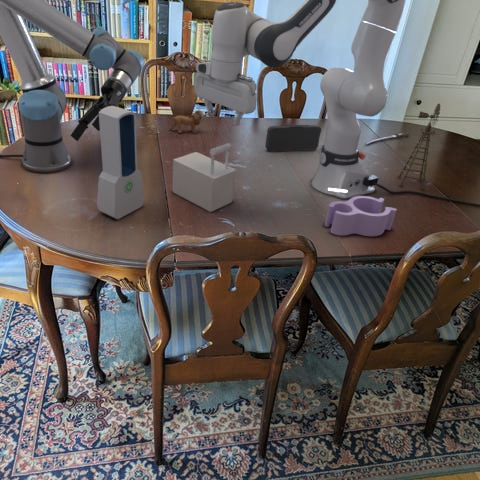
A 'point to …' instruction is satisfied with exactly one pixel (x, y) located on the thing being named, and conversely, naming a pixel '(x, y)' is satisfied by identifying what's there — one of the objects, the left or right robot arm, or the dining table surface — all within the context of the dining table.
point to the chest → (202, 189)
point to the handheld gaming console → (292, 137)
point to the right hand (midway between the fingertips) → (222, 120)
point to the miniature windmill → (428, 131)
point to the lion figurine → (188, 121)
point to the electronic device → (119, 164)
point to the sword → (385, 138)
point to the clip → (359, 216)
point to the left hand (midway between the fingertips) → (84, 133)
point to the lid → (207, 164)
